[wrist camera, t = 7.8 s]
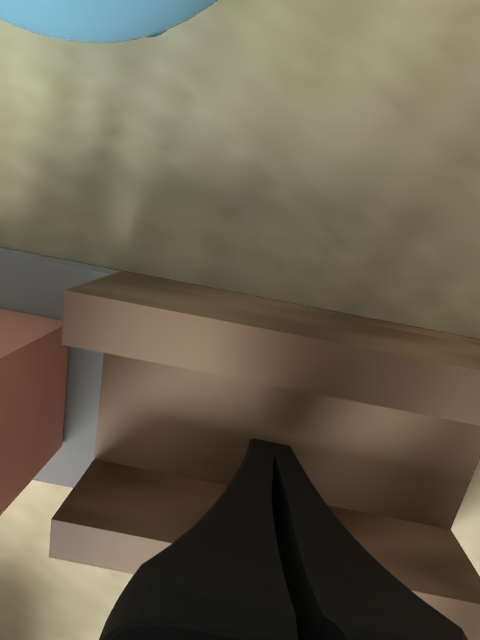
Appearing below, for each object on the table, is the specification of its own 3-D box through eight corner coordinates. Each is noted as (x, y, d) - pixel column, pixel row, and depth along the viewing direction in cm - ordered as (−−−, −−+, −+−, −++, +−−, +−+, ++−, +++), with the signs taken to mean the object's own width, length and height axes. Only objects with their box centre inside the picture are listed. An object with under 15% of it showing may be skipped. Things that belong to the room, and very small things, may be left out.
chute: (503, 343, 13) (603, 393, 9) (426, 538, 16) (481, 643, 12) (121, 270, 13) (64, 290, 9) (101, 474, 16) (49, 557, 12)
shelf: (121, 270, 13) (110, 274, 12) (101, 474, 16) (90, 491, 15) (-40, 239, 13) (-64, 240, 12) (-37, 447, 16) (-57, 462, 15)
